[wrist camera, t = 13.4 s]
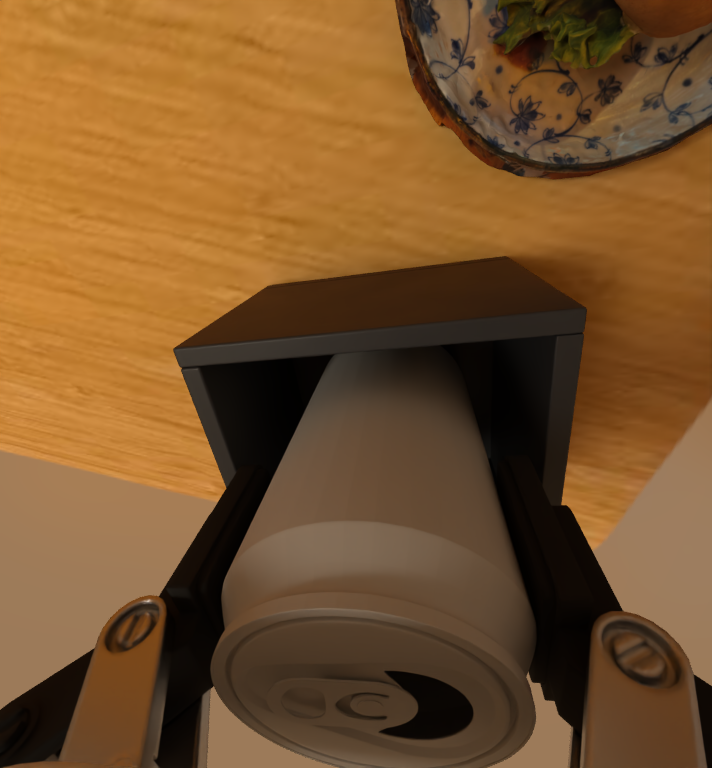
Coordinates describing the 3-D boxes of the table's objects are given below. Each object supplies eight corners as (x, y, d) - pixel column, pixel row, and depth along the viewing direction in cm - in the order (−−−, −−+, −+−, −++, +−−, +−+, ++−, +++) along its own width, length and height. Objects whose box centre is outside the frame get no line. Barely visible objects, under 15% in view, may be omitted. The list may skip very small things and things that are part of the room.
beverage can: (453, 452, 18) (518, 816, 8) (324, 441, 19) (217, 762, 8) (474, 327, 15) (630, 637, 5) (320, 319, 16) (145, 574, 5)
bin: (267, 285, 17) (171, 348, 10) (506, 255, 15) (588, 307, 8) (311, 465, 21) (266, 593, 14) (499, 459, 19) (548, 601, 13)
